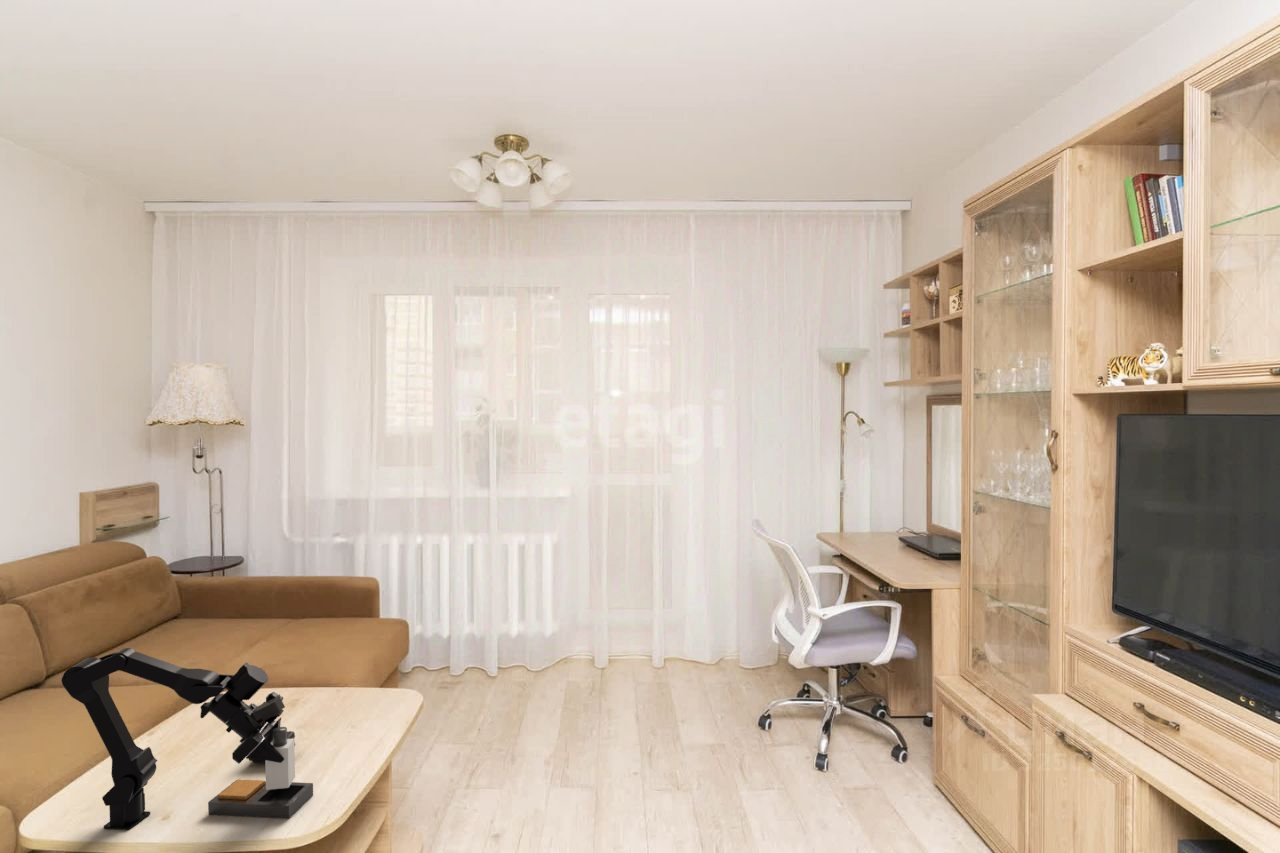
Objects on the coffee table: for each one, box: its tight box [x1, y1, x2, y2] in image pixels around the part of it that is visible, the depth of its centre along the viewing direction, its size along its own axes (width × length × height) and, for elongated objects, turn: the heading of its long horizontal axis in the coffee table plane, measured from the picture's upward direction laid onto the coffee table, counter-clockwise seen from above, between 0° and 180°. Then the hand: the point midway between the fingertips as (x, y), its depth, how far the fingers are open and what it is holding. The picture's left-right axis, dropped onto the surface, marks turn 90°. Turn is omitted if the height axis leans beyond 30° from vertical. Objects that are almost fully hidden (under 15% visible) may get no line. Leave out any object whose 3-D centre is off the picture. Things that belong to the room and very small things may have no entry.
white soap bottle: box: [264, 726, 296, 790], centre depth 169 cm, size 5×5×13 cm
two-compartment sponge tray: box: [207, 778, 314, 820], centre depth 170 cm, size 10×20×4 cm, turn 84°
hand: (286, 755), depth 169 cm, fingers closed on white soap bottle, 5 cm apart
